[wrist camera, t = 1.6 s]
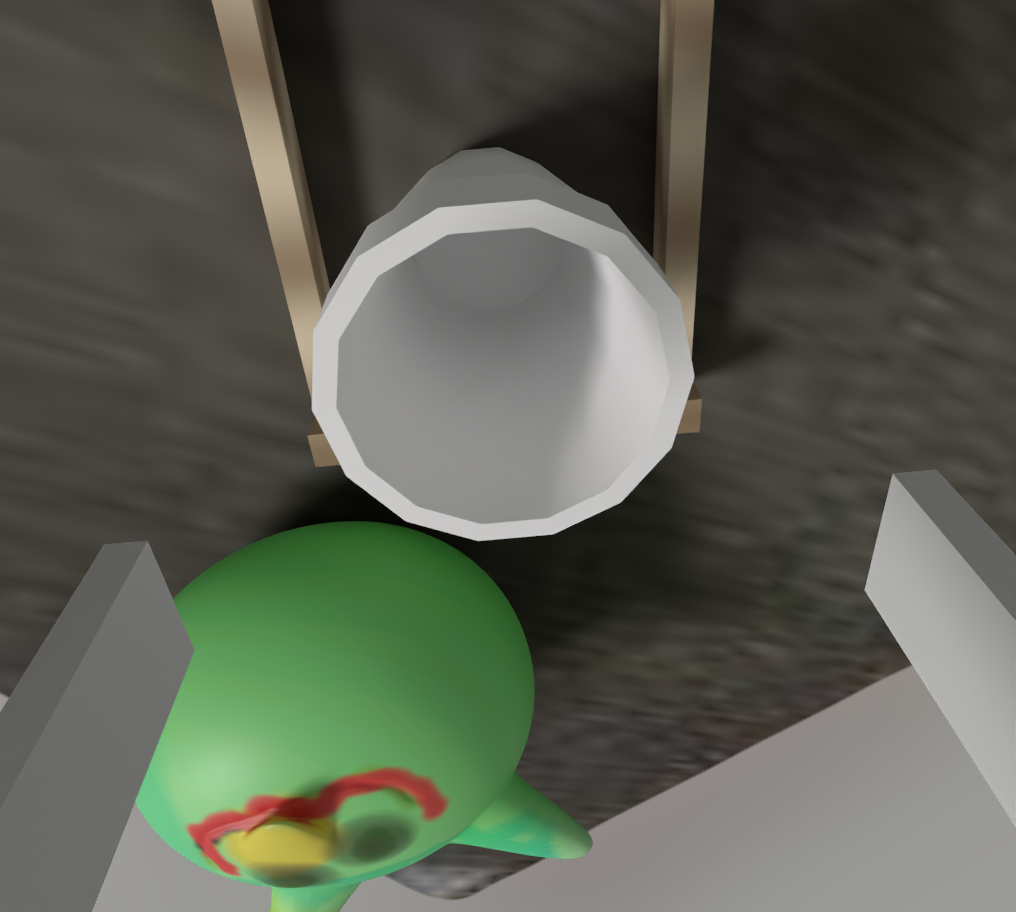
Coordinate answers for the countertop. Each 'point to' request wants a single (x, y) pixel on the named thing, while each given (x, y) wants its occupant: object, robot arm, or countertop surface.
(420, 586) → the toy bird
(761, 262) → the countertop surface
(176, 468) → the countertop surface
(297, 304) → the wooden u-shaped frame
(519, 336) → the foam cup
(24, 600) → the countertop surface
